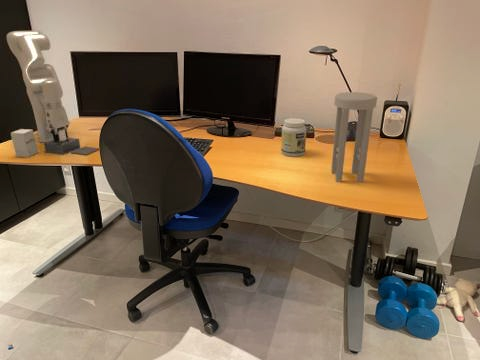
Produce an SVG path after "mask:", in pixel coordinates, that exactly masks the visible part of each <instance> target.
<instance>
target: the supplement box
mask: <svg viewBox="0 0 480 360" xmlns="http://www.w3.org/2000/svg"><path fill="white" fill-rule="evenodd" d="M10 138H11V141H12V144H13V149H14V152H15V153H14V154H15V157H19V158H30V157H32V156H34V155H35V154H38V153H39V151H38V146H37V141H36V138H35V134H34V130H33V129H24V128H19V129H18V130H15V131H12V132H10Z"/></svg>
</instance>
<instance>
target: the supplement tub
mask: <svg viewBox="0 0 480 360" xmlns="http://www.w3.org/2000/svg"><path fill="white" fill-rule="evenodd" d="M305 125H306V120H305V119H302V118H296V117H292V118H290V117H289V118H286V119H284V120H283V125H282V127H281V141H280V142H281V143H280V144H281V145H280V148H281V149H280V151H281V153H282V155H284V156H285V157H286V156H287V157H293V158H294V157H295V158H296V157H301V156H303V155H305V153H306V144H307V143H306V142H307V141H306V140H307V126H305Z"/></svg>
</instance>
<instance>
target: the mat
mask: <svg viewBox="0 0 480 360" xmlns="http://www.w3.org/2000/svg"><path fill="white" fill-rule="evenodd" d="M98 151H100V150H99V147H92V146H82V147H80V148H79V149H76V150H74V151H72V152H70V154H72V155H79V156H80V155H81V156H85V157H86V156H89V155H92V154H93V153H95V152H98Z"/></svg>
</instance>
